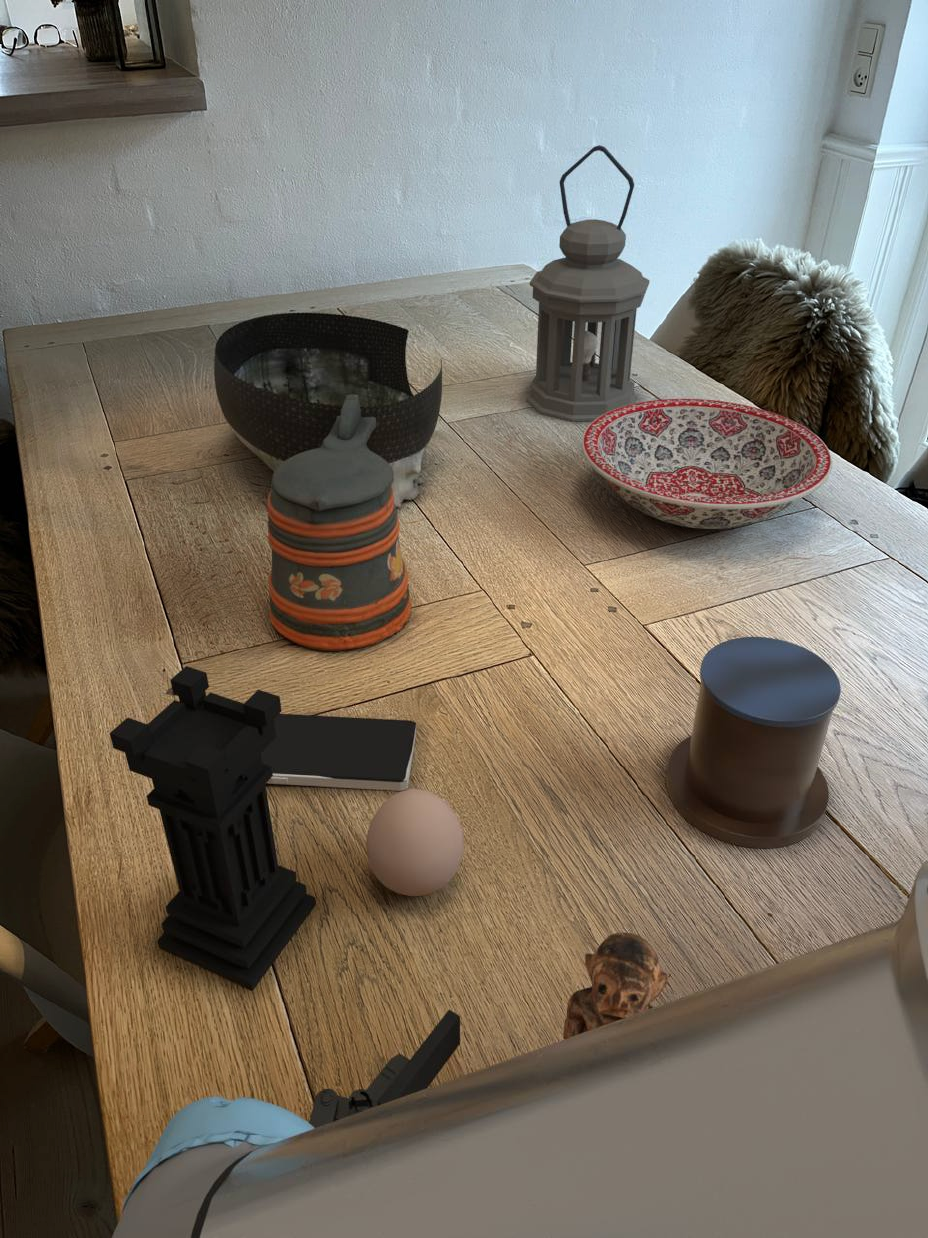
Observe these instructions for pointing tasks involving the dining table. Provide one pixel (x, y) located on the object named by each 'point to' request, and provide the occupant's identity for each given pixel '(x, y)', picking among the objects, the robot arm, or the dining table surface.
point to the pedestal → (756, 744)
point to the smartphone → (341, 752)
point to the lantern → (586, 318)
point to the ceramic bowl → (705, 460)
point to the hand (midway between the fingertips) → (559, 1090)
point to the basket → (324, 388)
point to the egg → (415, 843)
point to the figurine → (616, 984)
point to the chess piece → (218, 828)
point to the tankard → (336, 542)
